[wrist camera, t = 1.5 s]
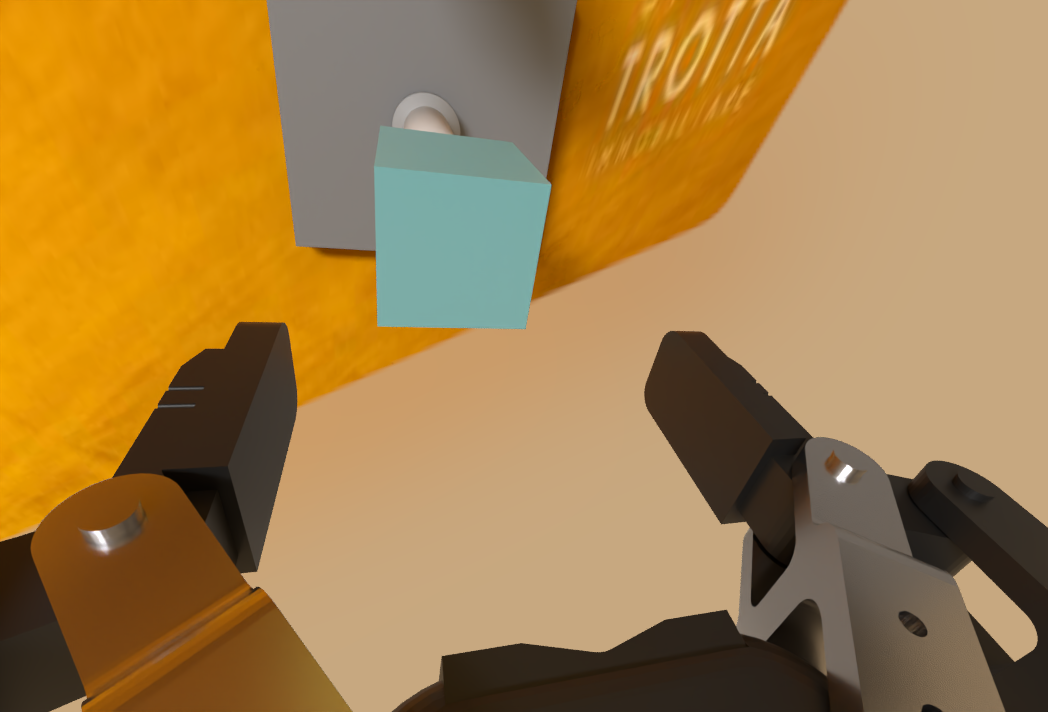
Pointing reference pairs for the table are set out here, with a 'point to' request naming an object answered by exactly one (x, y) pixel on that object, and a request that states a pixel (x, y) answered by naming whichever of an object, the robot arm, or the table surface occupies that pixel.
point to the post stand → (405, 91)
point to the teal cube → (455, 230)
